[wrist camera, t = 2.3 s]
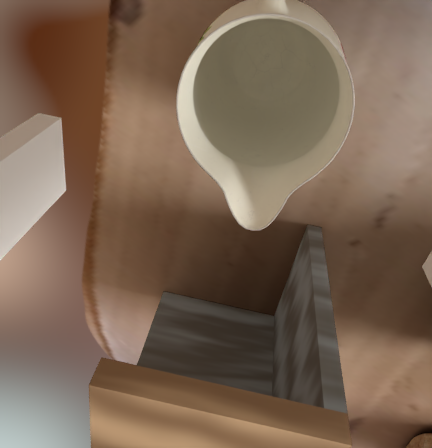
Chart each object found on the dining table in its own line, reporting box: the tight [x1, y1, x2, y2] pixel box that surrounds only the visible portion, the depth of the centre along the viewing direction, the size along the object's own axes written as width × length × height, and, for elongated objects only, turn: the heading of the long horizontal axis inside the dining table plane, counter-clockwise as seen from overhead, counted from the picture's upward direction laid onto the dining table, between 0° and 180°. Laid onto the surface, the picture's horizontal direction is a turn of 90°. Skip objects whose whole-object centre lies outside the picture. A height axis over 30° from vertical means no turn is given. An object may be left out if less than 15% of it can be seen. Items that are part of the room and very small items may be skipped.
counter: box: [89, 225, 352, 448], centre depth 38 cm, size 16×16×23 cm
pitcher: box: [176, 0, 355, 231], centre depth 28 cm, size 11×18×14 cm, turn 179°
